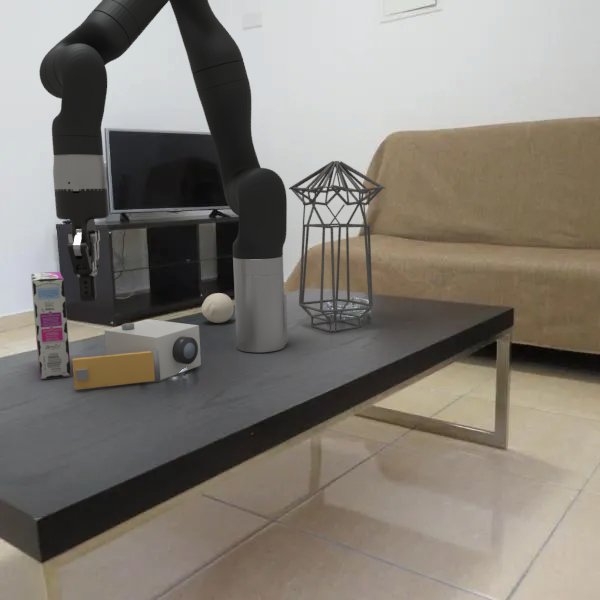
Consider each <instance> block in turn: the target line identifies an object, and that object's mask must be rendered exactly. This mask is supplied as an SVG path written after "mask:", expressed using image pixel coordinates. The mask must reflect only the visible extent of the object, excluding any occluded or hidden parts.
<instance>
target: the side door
mask: <svg viewBox="0 0 600 600" xmlns="http://www.w3.org/2000/svg"><path fill="white" fill-rule="evenodd" d="M71 361H72V370H73V371H72V372H73V381H74V383H73V384H74V390H82V389H93V388H94V389H95V388H102V387H103V388H104V387H111V386H119V385H128V384H129V385H130V384H139V383H146V382H147V383H148V382H153V383H158V382H161V381H162V380H160V364H159V350H158V349H153V350H151V351H146V352H135V353H125V354H115V355H106V354H105V355H96V356H95V355H94V356H88V357H87V356H85V357H76V358H72V360H71Z"/></svg>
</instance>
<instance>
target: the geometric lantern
mask: <svg viewBox="0 0 600 600" xmlns="http://www.w3.org/2000/svg"><path fill="white" fill-rule="evenodd" d="M334 171H335V172H334ZM355 175H356V176H358V177H359V178H362V179H363V180H365V181H366V182H369V183H370V184H372V185H374V186H373V187H367V186H365V185H364V184H363V183H362V182H361V181H360V180H359V179H358V178H357V177H356V176H355ZM336 176H337V177H336ZM345 177H346V178H347V179H348V181H349V183H351V185H352V186H353V187H354V188H350V187H349V186H348V184H347V180H346V179H345ZM313 178H314V179H313ZM336 178H337V182H338V185H336V184H335V181H336ZM311 179H312V181H311V182H310V183H309V184H308V185H307V186H305V187H300V186H302V185H303V184H305V183H306V182H308V181H310V180H311ZM332 179H333V180H332ZM326 185H327V186H326ZM324 189H325V190H324ZM383 189H384V190H385V189H386V187H385V186H383V185H381V184H380V183H379V182H376V181H375V180H373V179H372V178H370V177H368V176H367V175H365V174H363V173H362V172H360V171H358V170H357V169H354V168H353V167H352V166H350V165H348V164H346V162H343V161H341V160H335V161H334V160H332V161H330V162H329V163H327V164H326V165H324V166H322V167H321V168H319V169H317V170H316V171H314V172H313V173H311V174H309V175H308V176H306V177H305V178H303V179H301V180H299V181H298V182H296V183H295V184H293V185H292V186H290V187H289V188H288V190H291V191H292V192H293V194H294V195H295V196H296V197H297V198H298V200H300V202H301V203H302V205H303V212H302V213H303V214H302V215H303V216H302V232H301V233H302V235H301V236H302V237H301V256H300V257H301V258H300V274H299V275H300V277H299V292H298V293H299V295H298V296H299V298H298V306H299V307H301V309H303V311H304V312H305V313H306V314H307V315H308V316H310V327H311V328H315V329H318V330H322V331H325V332H329V333H337V332H341V331H342V332H343V331H347V330H348V331H349V330H352V329H359V328H361V327H362V326H361V319H362V318H363V317H364V316H365V315H367V314H369V312H370V311H371V310H372V309H373V307H374V303H373V300H374V299H373V279H372V277H373V275H372V250H371V247H372V246H371V226H372V225H371V224H368V223H367V216H366V215H367V214H366V206H369V205H370V202H372V201H373V199H374V198H376V196H377V195H378V194H380V192H381V191H382V190H383ZM342 191H343V192H346V193H345V194H346V199H345V198H344V197H343V196H342V194H341V193H340V192H342ZM329 192H334V194H333V195H332V196H331V197H330V198H328V195H329ZM305 193H307V195H306V194H305ZM310 193H312V194H314V196H313V198H311V194H310ZM321 193H325V198H324V199H325V200H324V202H319V201H317V198H318V197H319V196H320V194H321ZM354 193H358V197H357V196H356V195H355V194H354ZM349 194H350V196H351V197H352V198H353V199H354V201H351V202H350V196H349ZM364 194H367V195H365V196H364ZM336 196H338V198H340V200H341V201H342V202H343V204H342V206H341V207H340V209H339V210H338V211H337V213H336V214H334V213H333V211H332V210H331V208H330V207H329V206H328V205H329V204H330V203H331V202H332V200H333V199H334V198H335V197H336ZM305 199H307V200H308V202H306V200H305ZM365 200H366V202H365ZM310 205H311V206H312V207H311V209H310V213H309V215H308V216H309V217H308V220H307V222H306V224H305V218H306V215H305V213H306V207H307V206H310ZM316 205H320V206H326V208H327V209H328V210H329V212H330V214H331V215H332V216H333V219H331V221H330V223H325V222H324V221H323V218H322V217H321V215H320V213H319V211H318V208H317V207H316ZM353 205H356V206H355V208H354V210H353V211H352V213H351V215H350V217H349V219H348V221H347V222H346V223H340V221H339V220H338V219H337V217H338V215H339V214H340V213H341V211H342V210H343V209H344V207H345V206H353ZM358 208H359V209H360V213H361V215H362V220H363V222H364V224H362V223H350V222H351V221H352V219H353V217H354V216H355V213H356V211H357V210H358ZM314 212H315V213H316V216H317V218H318V220H319V222H320V223H311V224H310V222H311V219H312V216H313V213H314ZM335 220H336V222H337V223H333V222H334V221H335ZM310 227H311V228H322V234H321V235H322V236H321V237H322V238H321V266H320V267H321V268H320V293H319V294H320V295H319V296H320V297H319V300H312V301H305V288H306V278H307V276H306V275H307V261H308V251H309V250H308V245H309V237H310V236H309V235H310ZM334 228H338V232H337V233H338V235H337V236H338V237H337V242H338V243H337V255H336V257H337V258H336V259H337V260H336V262H337V263H336V276H335V253H334V252H335V249H334V248H335V246H334ZM342 228H345V245H346V254H345V255H346V293H347V295H346V298H347V299H343V298H339V287H340V285H339V284H340V283H339V281H340V260H341V258H340V257H341V239H342V236H341V235H342ZM349 228H363V230H364V231H363V233H364V246H365V247H364V248H365V264H366V266H365V267H366V280H367V296H368V297H367V298H368V303H366V302H362V301H357V300H352V299H350V298H351V297H350V296H351V295H350V293H351V292H350V291H351V289H350V249H349V247H350V246H349V241H350V240H349V239H350V238H349V237H350V236H349V235H350V234H349ZM326 229H330V253H331V254H330V258H331V259H330V260H331V262H330V263H331V289H332V290H331V291H332V295H331V296H332V298H331V299H324V278H325V249H326V248H325V245H326V243H325V242H326V240H325V239H326ZM335 277H336V281H335ZM335 282H336V284H335ZM331 302H332V309H323V305H324V304H323V303H331ZM338 302H344V303H345V304H344V306H343V307H342V308H341V309H340V308H339V309H338ZM349 303H350V304H351V303H352V304H355V305H361V306H362V307H351V308H346V307H347V305H348V304H349ZM312 304H313V305H315V304H319V308H316V307H313V306H309V305H312ZM363 306H364V307H363ZM309 310H312V311H315V312H318V314H312V313H311V312H310V311H309ZM355 311H356V312H357V311H363V312H362V313H361V315H356V314H351V313H347V312H355ZM345 312H346V313H345ZM319 313H320V314H319ZM328 315H333V319H332V320H331V319H330V318H329V317H328ZM337 315H339V319H337ZM321 316H323V318H322V317H321ZM342 316H348V317H351V318H343V319H342ZM324 317H325V318H324ZM314 319H316V320H321V321H323V322H314ZM354 320H356V321H357V322H358V323H354V322H351V321H354ZM337 322H338V323H339V322H341V323H345V324H349V325H352V326H351V327H345V328H339V329H337V328H338V327H337V325H338V324H337ZM332 323H334V329H333V330H332ZM322 324H323V325H324V324H329V329H326V328H323V327H320V326H317V325H322Z"/></svg>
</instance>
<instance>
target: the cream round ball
mask: <svg viewBox="0 0 600 600" xmlns="http://www.w3.org/2000/svg"><path fill="white" fill-rule="evenodd" d="M234 310H235V304H234V301H233V300H232V299H231V297H230V296H229V295H228V294H226V293H220V292H217V293H216V292H215V293H212V294H210V295H208V296H207V297H206V298H205V299H204V300H203V303H202V305H201V313H202V315H203V316H204V317H205V318H206V320H208V321H209V322H211V323H215V324H222V323H225V322H227V321H229V320H230V319H231V318H232V316H233V313H234V312H235V311H234Z"/></svg>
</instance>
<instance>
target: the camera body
mask: <svg viewBox="0 0 600 600" xmlns="http://www.w3.org/2000/svg"><path fill="white" fill-rule="evenodd" d="M103 331H104V342H105V344H104V345H105V355H115V354H125V353H135V352H146V351H151V350H153V349H158V350H159V364H160V380H161V381H162V380H165V379H167V378H170V377H173V376H175V375H178V374H177V373H179V372H180V371H181V370H182V369H184V368H186V367H187V368H188V369H189V370H193V369H195V368H198V367H201V365H202V363H201V362H202V361H201V343H200V341H201V340H200V325H197V324H189V323H184V322H183V323H181V322H174V321H166V320H165V321H164V320H156V319H150V318H147V319H143V320H140V321H135V322H126V323H125V322H124V323H123V324H121V325H119V326H115V327H112V328H108V329H105V330H103ZM179 374H180V373H179Z"/></svg>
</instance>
